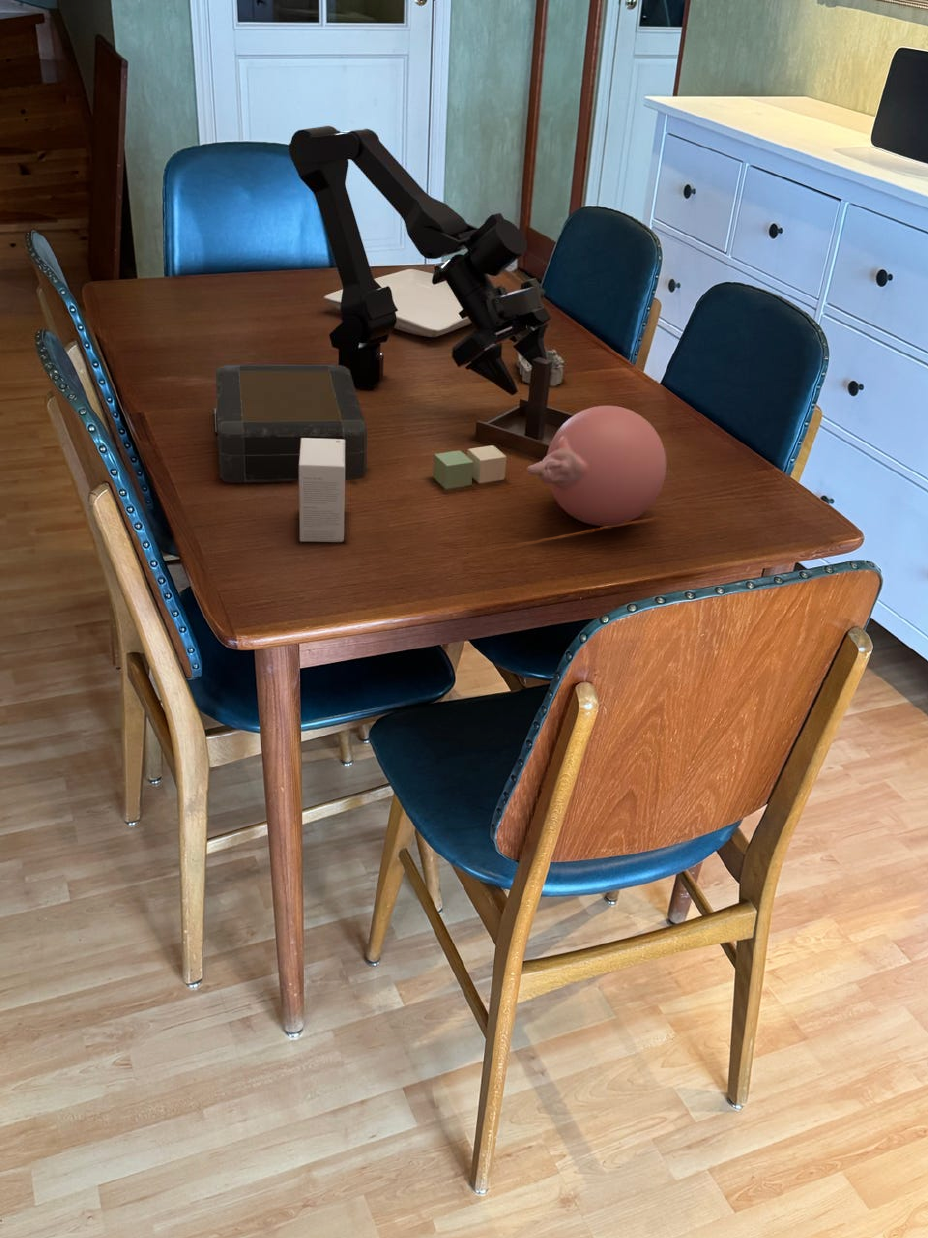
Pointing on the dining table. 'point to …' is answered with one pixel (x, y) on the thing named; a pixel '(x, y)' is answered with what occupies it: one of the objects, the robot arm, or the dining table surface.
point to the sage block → (452, 469)
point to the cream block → (487, 463)
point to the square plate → (419, 303)
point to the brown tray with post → (527, 418)
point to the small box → (321, 490)
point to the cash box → (284, 419)
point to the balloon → (604, 466)
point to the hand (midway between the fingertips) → (532, 385)
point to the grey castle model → (555, 370)
